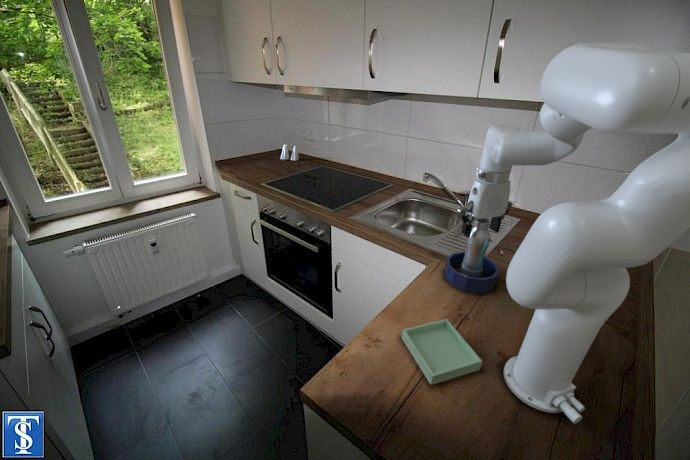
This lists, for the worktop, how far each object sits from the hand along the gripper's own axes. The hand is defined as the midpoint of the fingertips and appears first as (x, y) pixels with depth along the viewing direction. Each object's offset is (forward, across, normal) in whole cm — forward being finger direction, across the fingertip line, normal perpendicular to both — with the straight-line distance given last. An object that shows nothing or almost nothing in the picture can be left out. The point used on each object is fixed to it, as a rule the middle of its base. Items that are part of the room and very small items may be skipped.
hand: (479, 232), depth 90 cm
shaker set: (+17, -32, +149) cm, 153 cm away
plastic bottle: (+16, 0, 0) cm, 16 cm away
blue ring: (+16, 0, 0) cm, 16 cm away
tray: (+16, -25, -22) cm, 37 cm away
